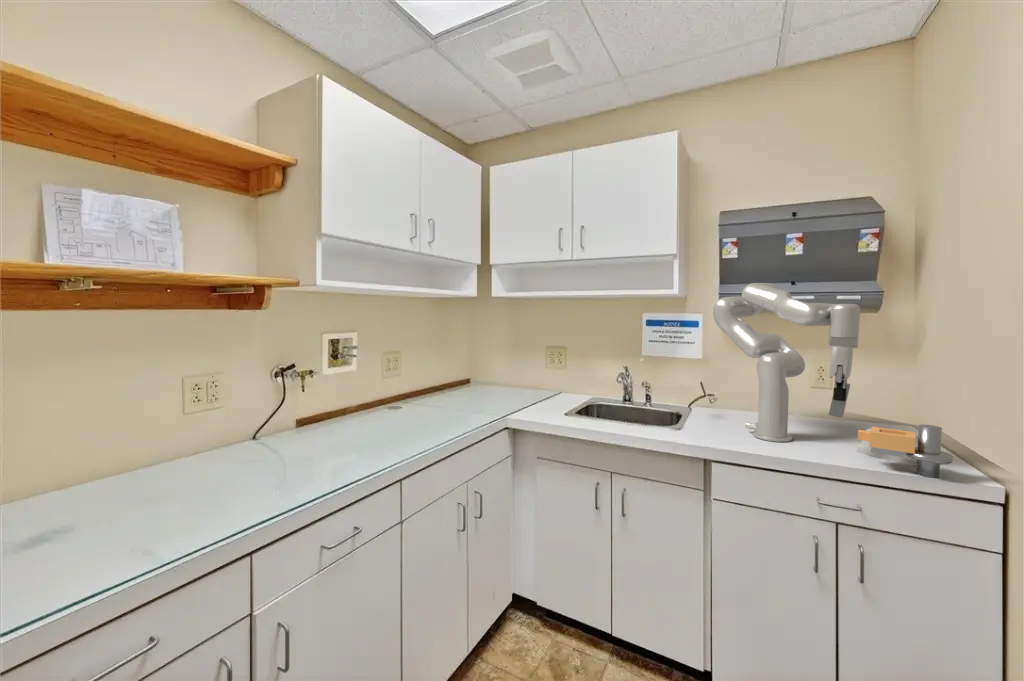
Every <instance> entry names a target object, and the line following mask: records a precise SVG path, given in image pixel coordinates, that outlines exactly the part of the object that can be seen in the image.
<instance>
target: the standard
mask: <svg viewBox="0 0 1024 681" xmlns="http://www.w3.org/2000/svg"><path fill="white" fill-rule="evenodd" d="M942 432H943V428H942V427H941V426H938V425H933V424H918V432H917V433H918V435H917V437H918V447H915V454H913V453H906V452H900V451H893V450H887V449H881V448H874V447H872V449H871V452H874V453H880V454H887V455H893V456H899V457H905V455H906V456H908V457H910V458H913V459H916V460H917V467H916V466H915V467H916V469H915V470H916V471H915V472H916V473H915V474H917V476H921V477H924V478H925V477H926V478H930V479H931V478H932V479H938V478H940V471H941V470H940V466H941V464H942V465H943V464H945V465H947V464H948V465H949V464H952V463H954V455H952V454H951V453H948V452H945V451H942V449H941V448H942Z"/></svg>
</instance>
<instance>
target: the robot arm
mask: <svg viewBox="0 0 1024 681" xmlns="http://www.w3.org/2000/svg"><path fill="white" fill-rule="evenodd" d="M765 310H766V311H769V312H771V313H774V314H776V315H777V316H778V317H779V318H780V319H783V320H786V321H788V322H792V323H794V324H797V325H799V326H805V327H816V326H817V327H825V326H829V329H828V330H829V331H828V332H829V333H828V348H831V352H830V362H829V374H828V377H829V378H830V379H833V377H834V386H833V394H832V398H833V400H838V401H845V400H846V389H845V385H846V383H848V379H849V378H850V377H851V374H852V366H853V355H854V349H858V348H859V334H860V333H859V331H860V316H861V315H860V314H861V307H860V306H859V305H858V304H855V303H836V304H835V303H825V302H823V303H821V302H805V301H803V300H802V301H800V300H799V299H794V298H792V294H791V292H789V291H787V290H785V289H781V288H780V287H779V286H778V285H776V284H774V283H770V282H751V283H749V284H747V285H746V286H745V287H743V289H742V292H741V296H724V297H721V298H719V299H718V300H716V301H715V303H714V305H713V307H712V314H713V315H712V316H713V320H714V322H715V324H716V325H717V327H718V328H719V329H720V330H721V331H722V332H723V333H724V334H726V336H728V338H730V339H731V340H732V341H733V343H735V345H737V347H738V348H739V349H740V350H741V351H742V352H743V353H744V354H745V355H746V356H747V357H749V358H752V359H757V361H756V362H757V363H756V372H757V379H758V407H757V408H758V410H757V411H758V414H757V423H756V422H755V423H751V422H745V428H747V429H748V430H753V431H752V436H753V437H754V438H756V439H760V440H764V441H768V442H779V443H784V442H791V441H792V440H793V436H792V434H790V433H788V428H789V427H788V426H789V424H788V422H789V402H790V401H789V396H790V394H789V392H790V391H789V385H788V383H787V380H786V378H793V377H797V376H800V375H801V374H803V372H804V371H805V368H806V362H805V360H804V358H803V356H802V355H801V354H800V353H799V352H798V351H797V350H796V349H795V348H794V346H793V347H792V346H791V345H790V344H789V343H788V342H787V341H786V340H785V339H784V338H783V337H781V336H780V335H778V334H775V333H772V332H758V331H757V330H755V329H754V328H753V327H752V326H751V325H750V324H749V323H748V322H746V321H744V320H742V319H741V318H750V317H752V316H754V315H757V314H759V313H761V312H763V311H765Z"/></svg>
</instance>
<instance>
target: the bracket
mask: <svg viewBox="0 0 1024 681" xmlns="http://www.w3.org/2000/svg"><path fill="white" fill-rule="evenodd" d="M870 429H871V431H866V429H865V430H864V429H863V430H862V429H858V430H857V440H859V441H862V440H863V441H870V446H869V447H874V448H881V449H887V450H893V451H900V452H906V453H913V454H915V436H916V431H909V430H907V431H906V430H902V429H893V428H887V427H886V428H885V427H878V426H871V428H870Z"/></svg>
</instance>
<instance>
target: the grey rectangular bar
mask: <svg viewBox="0 0 1024 681" xmlns="http://www.w3.org/2000/svg"><path fill="white" fill-rule="evenodd" d="M850 388H851V383H848V382H847V383H846V385H845V389H846V400H845V401H838V400H833V397H832V399H831V403H830V407H829V412H828V416H831V417H836V418H839V419H843V417H844V414H845V409H846V407H847V406H846V405H847V401H848V396H849V392H850Z"/></svg>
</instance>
